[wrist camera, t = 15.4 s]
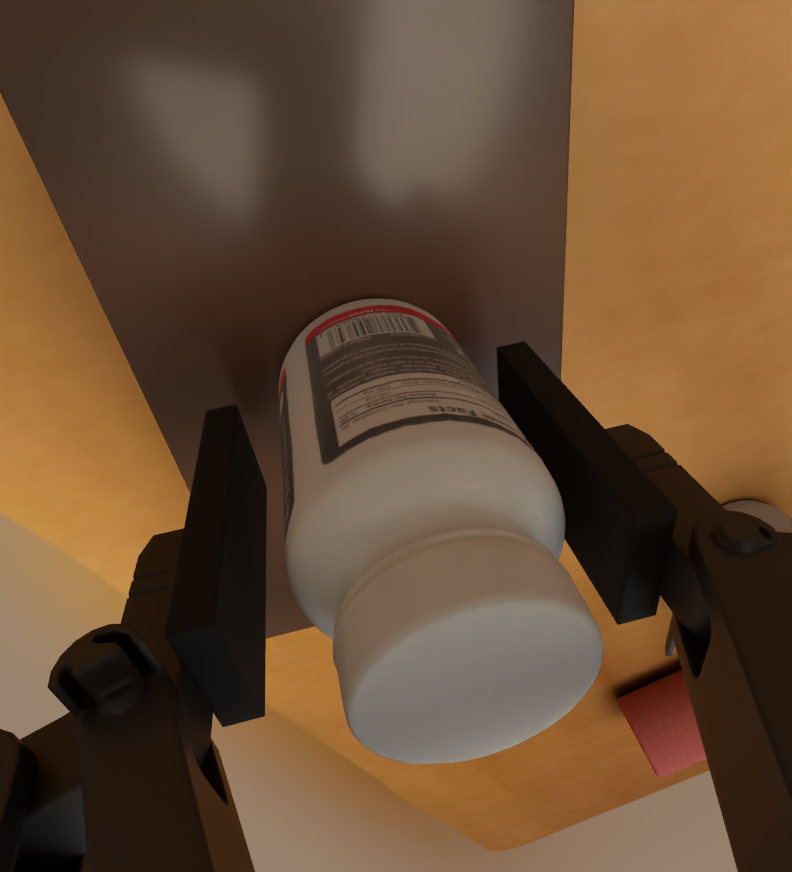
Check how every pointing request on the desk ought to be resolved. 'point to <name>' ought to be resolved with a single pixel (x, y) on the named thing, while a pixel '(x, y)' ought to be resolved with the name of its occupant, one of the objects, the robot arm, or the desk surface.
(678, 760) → the blood vessel
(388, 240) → the stand
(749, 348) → the desk surface
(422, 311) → the pill bottle
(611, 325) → the desk surface
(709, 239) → the desk surface
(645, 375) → the desk surface
